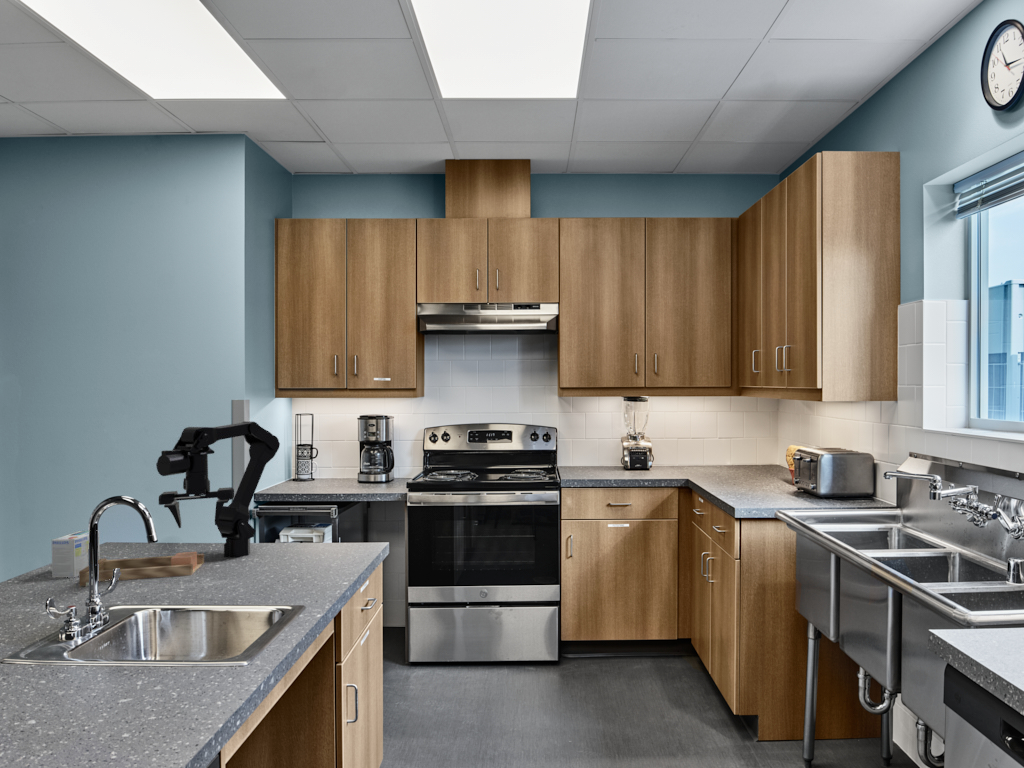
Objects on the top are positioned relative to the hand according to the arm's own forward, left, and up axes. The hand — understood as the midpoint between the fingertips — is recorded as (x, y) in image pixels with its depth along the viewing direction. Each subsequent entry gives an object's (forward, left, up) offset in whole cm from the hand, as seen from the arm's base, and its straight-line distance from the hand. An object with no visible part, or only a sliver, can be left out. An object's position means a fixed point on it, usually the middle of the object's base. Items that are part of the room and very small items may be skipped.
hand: (198, 526), depth 181 cm
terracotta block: (+3, +2, -11) cm, 12 cm away
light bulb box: (+34, -7, -13) cm, 37 cm away
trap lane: (+13, +2, -12) cm, 18 cm away
